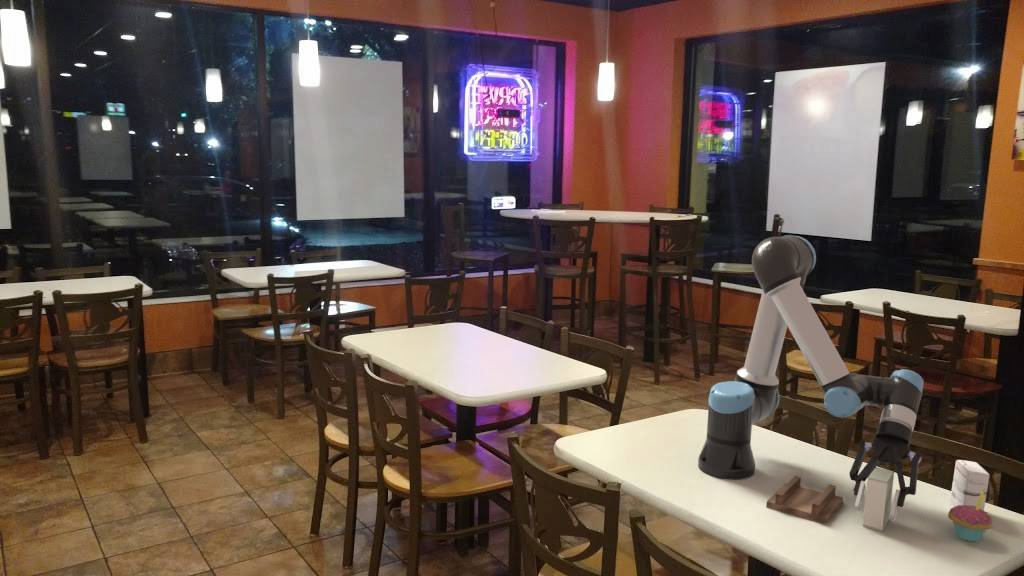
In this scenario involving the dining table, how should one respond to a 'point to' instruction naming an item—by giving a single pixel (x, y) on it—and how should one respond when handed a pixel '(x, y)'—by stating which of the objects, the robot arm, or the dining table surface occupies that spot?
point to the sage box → (878, 499)
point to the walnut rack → (806, 501)
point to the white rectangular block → (968, 484)
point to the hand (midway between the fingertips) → (874, 512)
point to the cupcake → (970, 520)
